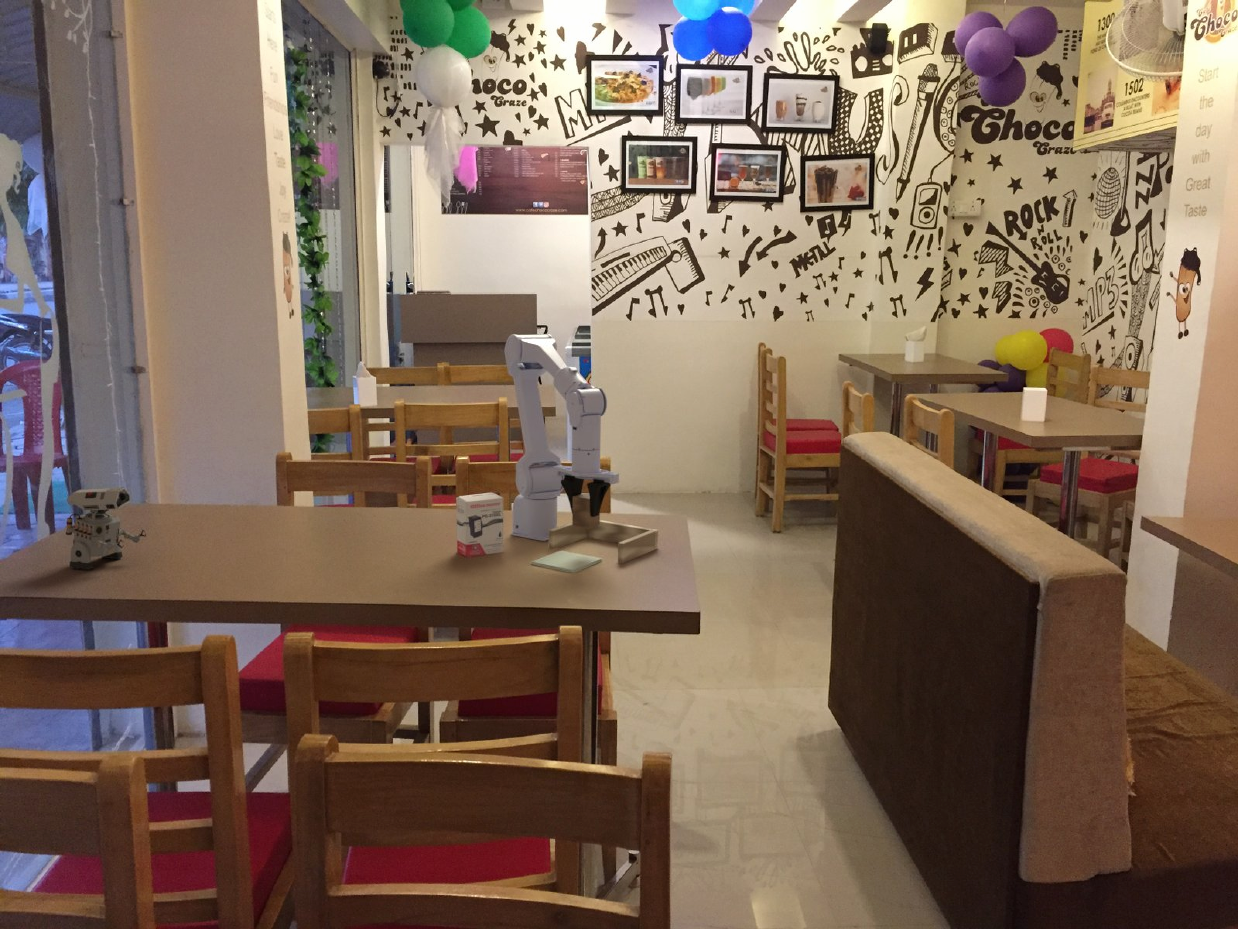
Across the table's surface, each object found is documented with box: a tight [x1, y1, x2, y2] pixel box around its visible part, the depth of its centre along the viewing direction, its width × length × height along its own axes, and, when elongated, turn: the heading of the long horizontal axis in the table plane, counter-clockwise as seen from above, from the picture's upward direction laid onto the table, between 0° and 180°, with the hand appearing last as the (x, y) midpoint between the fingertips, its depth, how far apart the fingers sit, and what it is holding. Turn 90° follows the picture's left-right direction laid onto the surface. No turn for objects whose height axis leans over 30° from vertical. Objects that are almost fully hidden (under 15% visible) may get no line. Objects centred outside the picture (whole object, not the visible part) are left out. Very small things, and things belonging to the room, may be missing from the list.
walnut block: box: [571, 492, 601, 528], centre depth 203 cm, size 4×4×6 cm
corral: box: [548, 519, 659, 564], centre depth 210 cm, size 18×14×4 cm
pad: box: [531, 550, 603, 574], centre depth 200 cm, size 10×10×1 cm
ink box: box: [455, 492, 504, 558], centre depth 205 cm, size 8×5×12 cm, turn 123°
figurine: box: [65, 487, 147, 571], centre depth 192 cm, size 9×12×15 cm
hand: (585, 514), depth 203 cm, fingers closed on walnut block, 4 cm apart
